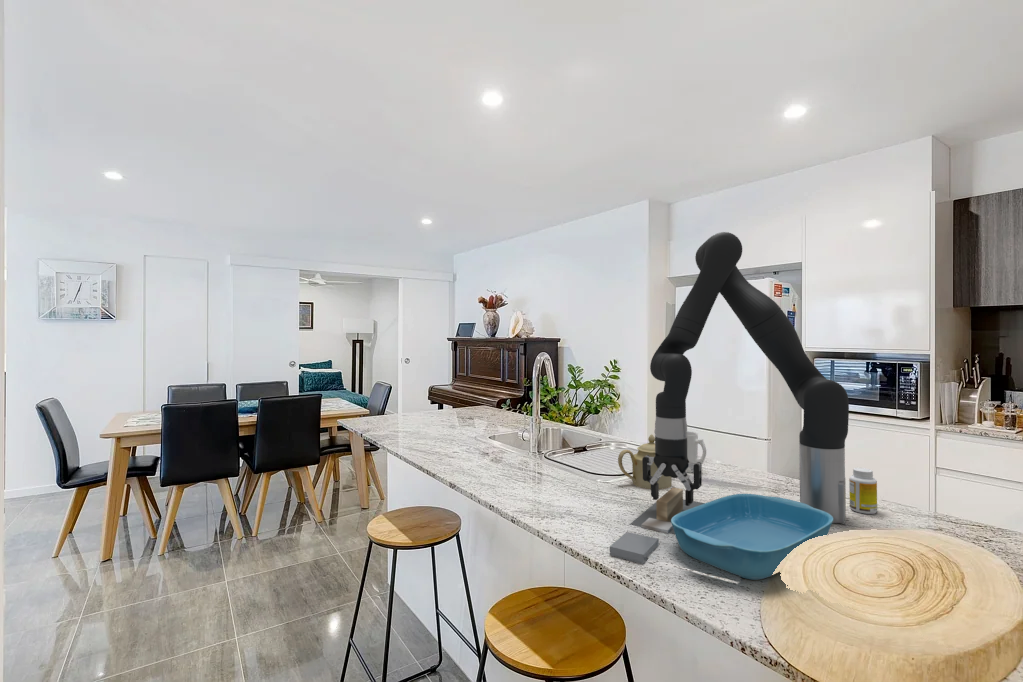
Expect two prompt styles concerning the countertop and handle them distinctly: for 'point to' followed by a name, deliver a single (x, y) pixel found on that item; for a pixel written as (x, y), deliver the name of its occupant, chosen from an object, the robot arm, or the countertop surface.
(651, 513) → the mat
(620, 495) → the countertop surface
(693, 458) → the mug
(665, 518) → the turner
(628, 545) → the tile
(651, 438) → the beige teapot
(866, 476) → the supplement bottle
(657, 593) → the countertop surface
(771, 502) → the casserole dish
